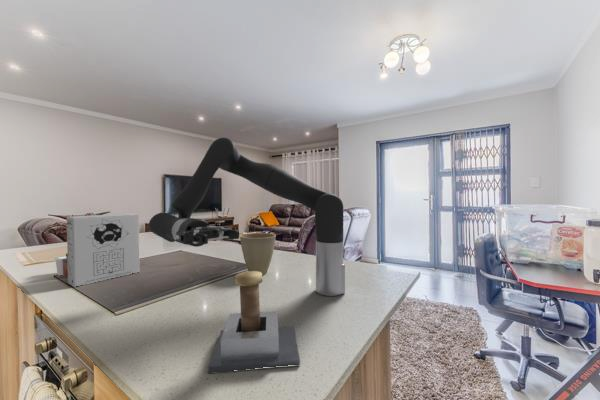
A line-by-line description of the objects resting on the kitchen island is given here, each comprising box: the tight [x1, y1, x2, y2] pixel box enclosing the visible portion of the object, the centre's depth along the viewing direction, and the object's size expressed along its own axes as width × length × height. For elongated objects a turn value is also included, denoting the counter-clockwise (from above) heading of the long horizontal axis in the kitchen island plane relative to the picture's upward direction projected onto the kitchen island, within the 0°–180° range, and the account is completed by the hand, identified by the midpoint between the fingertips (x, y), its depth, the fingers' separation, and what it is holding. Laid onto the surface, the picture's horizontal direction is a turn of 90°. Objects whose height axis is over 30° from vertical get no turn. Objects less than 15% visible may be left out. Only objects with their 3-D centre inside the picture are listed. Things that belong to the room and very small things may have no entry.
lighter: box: [62, 252, 68, 279], centre depth 106 cm, size 8×3×10 cm, turn 168°
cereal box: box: [66, 212, 141, 288], centre depth 103 cm, size 22×8×25 cm, turn 145°
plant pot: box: [239, 232, 277, 276], centre depth 109 cm, size 15×15×16 cm
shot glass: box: [55, 255, 67, 276], centre depth 108 cm, size 7×7×7 cm
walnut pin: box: [235, 270, 263, 332], centre depth 55 cm, size 6×6×14 cm
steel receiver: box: [207, 310, 301, 374], centre depth 55 cm, size 17×13×5 cm
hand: (223, 237), depth 62 cm, fingers open, 8 cm apart
